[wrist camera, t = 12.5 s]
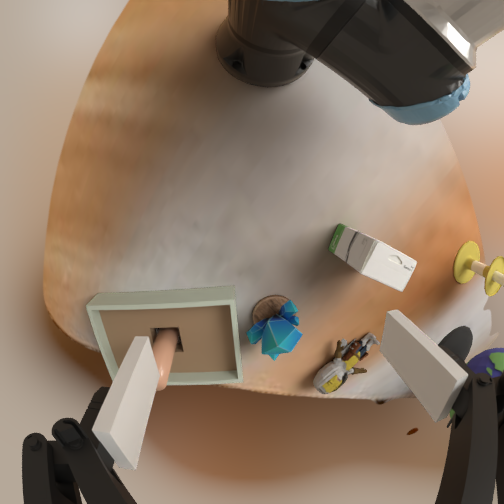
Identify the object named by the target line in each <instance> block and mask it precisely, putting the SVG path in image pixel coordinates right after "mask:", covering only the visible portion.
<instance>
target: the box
mask: <svg viewBox="0 0 504 504" xmlns="http://www.w3.org/2000/svg"><path fill="white" fill-rule="evenodd" d="M86 309H87V312H88V315H89V318H90V322H91V325H92V328H93V331H94V334H95V337H96V340H97V342H98V345H99V348H100V351H101V353H102V356H103V358H104V361H105V364H106V366H107V368H108V371H109V373H110V376H111V378H112V380H113V381H114V379H115V376H116V374H117V372H118V370H119V368H120V366H121V364H122V362H123V360H124V358H125V356H126V354H127V352H128V350H129V348H130V346H131V344H132V342H133V340H134V338H135V336H148V337H149V340H150V344H151V348H152V347H153V344H154V342H155V339H156V337H157V335H156V331H155V328H167V327H179V332H180V337H181V341H182V344H177V346H176V349H175V353H174V357H173V361H172V365H171V369H170V373H169V377H168V381H167V385H205V384H226V383H240V382H243V373H242V362H241V352H240V342H239V331H238V321H237V310H236V299H235V287H234V286H223V287H209V288H195V289H179V290H161V291H142V292H120V293H97V295H96V296H95V297H94V298H93V299H92V300H91V301H90V302H89V303H88V304H87V305H86Z"/></svg>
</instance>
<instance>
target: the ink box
mask: <svg viewBox="0 0 504 504" xmlns="http://www.w3.org/2000/svg"><path fill="white" fill-rule="evenodd" d="M328 250H329V251H331V252H332V253H333V254H335V255H336V256H338V257H339V258H340V259H342V260H343V261H345V262H346V263H347V264H349V265H350V266H351V267H353V268H354V269H355V270H357V271H358V272H359V273H360V274H362V275H365V276H367V277H369V278H371V279H374V280H376V281H378V282H380V283H383V284H385V285H387V286H389V287H392V288H394V289H396V290H398V291H401V292H402V291H403V290H404V288H405V287H406V285H407V283H408V281H409V279H410V277H411V275H412V273H413V271H414V269H415V267H416V264H417V262H416V261H415V260H413V259H412V258H410V257H408V256H406V255H405V254H403V253H401V252H400V251H398V250H396V249H394V248H392V247H391V246H389V245H387V244H385V243H383V242H381V241H379V240H377V239H375V238H373V237H371V236H369V235H366V234H364V233H362V232H360V231H357V230H355V229H353V228H350V227H348V226H345V225H343V224H339V225H338V227H337V229H336V231H335V234H334V236H333V238H332V241H331V243H330V246H329V249H328Z"/></svg>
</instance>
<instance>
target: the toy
mask: <svg viewBox="0 0 504 504" xmlns="http://www.w3.org/2000/svg"><path fill="white" fill-rule="evenodd" d="M369 339H370V340H369ZM368 340H369V341H368ZM367 341H368V343H366V342H367ZM372 344H377V345H379V344H380V342H379V341H378V340H376V337H375V336H374V335H373V334H371V333H370V332H369V333H368V334H367V335H366V336H365V337H364V338H363V339H361V341H360V342H359V343H358V342H357V341H356V340H353V341H352V342H351V343H350V344H349V345H348V346H347V340H344V339H342V341H341V342H340V340H339V341H338V342H337V349H336V351H335V354H334V356H335V358H334V361H333V362H329V363H328V364H326V365H325V366H324V367H323V368H322V369H320V370H319V371H318V373H317V375H316V376H315V378H314V380H313V384H314V386H315V388H316V389H317V390H318V391H319V392H320V393H322V394H328V393H331V392H333V391H336V390H337V389H338V388H339V387H340V386H342V385H343V384H344V383H345V381H346V380H347V378H348V374H350V373H351V374H358V373H366V372H367V370H366V369H365V370H364V368H361V369H358V368H353V366H354V365H355V364H356V363H357V362H358V360H359V361H361V360H362V359H363V358H365V357H366V356H367V355H368V353H366V351H369V349H370V347H371V345H372ZM363 346H364V347H363ZM362 347H363V348H362Z"/></svg>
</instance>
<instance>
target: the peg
mask: <svg viewBox="0 0 504 504" xmlns="http://www.w3.org/2000/svg"><path fill="white" fill-rule="evenodd" d="M178 338H179V330H178V328H177V327H167V328H160V329H159V332H158V334H157V337H156V339H155V342H154V344H153V347H152V351H153V354H154V358H155V361H156V364H157V368H158V371H159V374H160V377H159V381H158V384H157V388H156V391H159V390H163V389H164V388H165V387H166V385H167V381H168V377H169V373H170V369H171V365H172V361H173V357H174V353H175V349H176V346H177V342H178Z"/></svg>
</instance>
